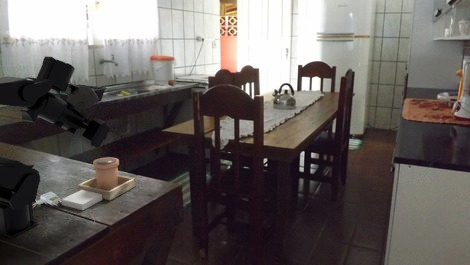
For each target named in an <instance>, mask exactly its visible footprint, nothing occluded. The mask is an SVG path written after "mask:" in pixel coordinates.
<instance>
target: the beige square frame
mask: <svg viewBox="0 0 470 265" xmlns="http://www.w3.org/2000/svg"><path fill="white" fill-rule="evenodd" d="M136 181H137V180H136V178H134V177H130V176H126V175H120V174H118V185H119V186H117V187H116V188H114V189H112V190H110V191H108V190H103V189H99V188H97V187H96V176H94V177H92V178H90V179H88V180H85V181H84V182H80V183H79V184H77V192H78V191H80V190H86V191H90V192H94V193H99V194H102V200H107V201H111V200H114V199H116V198H117V197H118V196H120V195H122V194H124V193H126V192H127V191H130V190H131V189H133V188H135V187H136V186H137V184H136V183H137V182H136Z"/></svg>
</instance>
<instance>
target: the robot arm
mask: <svg viewBox="0 0 470 265" xmlns="http://www.w3.org/2000/svg"><path fill="white" fill-rule="evenodd" d="M75 70H76V69H75V67H74V66H73V65H72V64H71V63H68V62H65V61H63V60H59V59H56V58H55V57H53V56H47V55H45V56H44V58H43V61H42V64H41V67H40V69H39V72H38V74H37V76H36V77H29V76H28V77H14V76H3V77H0V105H1V106H9V107H18V108H19V107H21V108H22V107H23V108H22V109H20V110H19V111H20V113H21V114H20V115H21V120H22V121H25V122H30V123H36V122H37V119H38V118H40V119H42V120H45V121H47V122H49V123H51V124H53V125H55V126H56V127H59V129H64V130H66V131H67V132H69V133H71V134H73V135H75V133H76V132H77V130H80V129H81V130H82V129H83V130H84V132H83V133H82V134H81V139H82V141H83V142H85V143H87V144H88V145H89V146H92V147H94V148H97V149H98V148H100V147H101V145H102V144H107V143H112V142H113V140H114V137H113V136H112V135H111V134H110V130H111V128H112V125H111V124H109V123H107V122H106V121H104V120H103V119H100V118H98V116H97V117H94V118H92V119H91V120H90V119H88V118H87V117H88V115H89V112H88V110H89V109H91V107H92V106H93V105H95V104H96V103H97V102H99V101H100V99H99V97H98V95H97V93H96V92H95V91H94V89H93V88H91V87H89V86H87V85H85V84H80V83H79V84H78V86H77V85H75V84H73V83H70V82H71V79H72V77H73V74H74V72H75ZM61 92H62V93H66V96H67V98H66V99H65V98H63V97H58V96H57V95H60V93H61ZM54 94H55V95H54ZM34 167H35V166H34V164H31V163H27V162H23V161H19V160H17V159H12V158H8V157H4V156H1V155H0V235H1V236H5V237H7V238H11V239H13V238H16V237H17V236H19V235H21V234H23V233H25V232H27V231H29V230H31V229H32V228H35V227H36V226H38V225H39V222H38V221H36V220H35V215H34V214H35V213H34V212H35V211H34V204H33V203H34V202H36V200H37V195H38V190H39V185H40V182H41V176H40V171H39V170H38V169H36V168H34Z"/></svg>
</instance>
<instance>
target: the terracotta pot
mask: <svg viewBox="0 0 470 265" xmlns="http://www.w3.org/2000/svg"><path fill="white" fill-rule="evenodd" d="M92 164H93V168H94V171H95V177H96V186H95V188H99V189H103V190H108V191H110V190H112V189H114V188H116V187H117V186H119V185H120V184H118V175H119V167H118V166H119V165H120V160H119V158H116V157H110V156H107V157H100V158H97V159H94V160H93V163H92Z"/></svg>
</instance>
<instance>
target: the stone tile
mask: <svg viewBox="0 0 470 265" xmlns="http://www.w3.org/2000/svg"><path fill="white" fill-rule="evenodd" d="M102 200H103V199H102V194H99V193H94V192H90V191H86V190H80V191H78V190H77V191H76V192H74V193H72V194H70V195H68V196H66V197H63V198H61V205H62V206H65V207H68V208H73V209H76V210H79V211H84V210H86V209H88V208H90V207H92V206H94V205H96V204H97V203H99V202H101V201H102Z"/></svg>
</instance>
